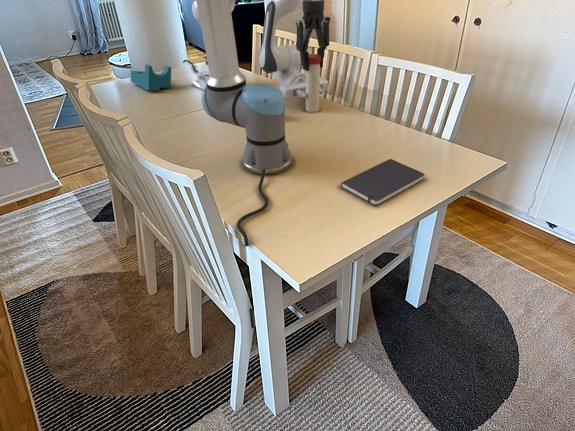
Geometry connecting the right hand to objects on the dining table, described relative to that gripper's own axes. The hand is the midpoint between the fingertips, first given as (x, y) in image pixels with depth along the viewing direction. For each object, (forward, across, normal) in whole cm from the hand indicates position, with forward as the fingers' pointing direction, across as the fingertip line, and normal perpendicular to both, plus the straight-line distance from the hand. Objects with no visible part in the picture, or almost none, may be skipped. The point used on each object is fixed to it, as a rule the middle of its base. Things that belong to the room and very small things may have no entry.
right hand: (312, 68), depth 152 cm
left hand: (+9, 0, -1) cm, 10 cm away
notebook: (+16, -17, -58) cm, 62 cm away
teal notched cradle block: (+16, -42, +69) cm, 83 cm away
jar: (+16, 0, 0) cm, 16 cm away
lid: (-4, 0, 0) cm, 4 cm away
